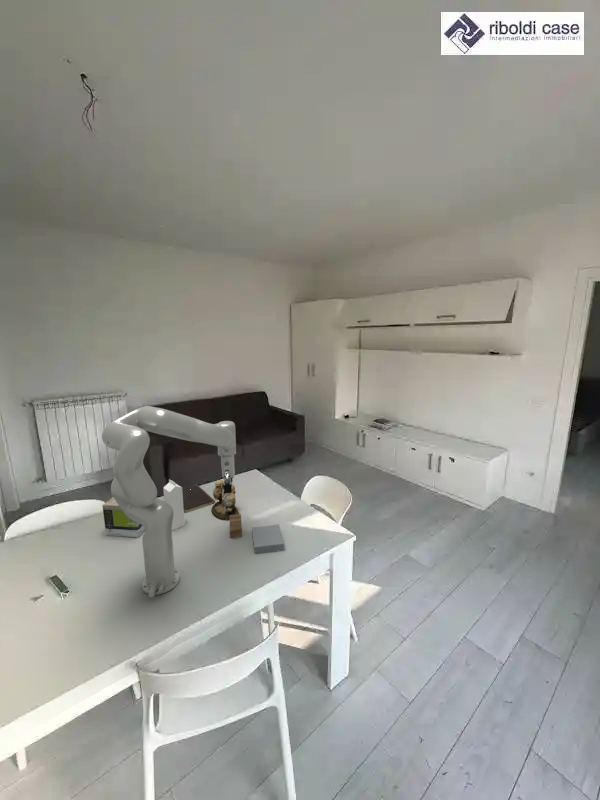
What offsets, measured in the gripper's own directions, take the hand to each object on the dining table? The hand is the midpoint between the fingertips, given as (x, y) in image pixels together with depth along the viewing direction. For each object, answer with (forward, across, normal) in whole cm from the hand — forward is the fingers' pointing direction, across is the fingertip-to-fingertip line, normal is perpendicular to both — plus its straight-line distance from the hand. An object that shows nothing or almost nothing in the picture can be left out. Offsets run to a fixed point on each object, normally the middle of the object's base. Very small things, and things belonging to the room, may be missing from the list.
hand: (228, 487), depth 146 cm
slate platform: (+22, -10, -16) cm, 28 cm away
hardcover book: (+22, +32, +21) cm, 45 cm away
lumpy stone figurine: (+22, +17, +3) cm, 28 cm away
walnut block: (+22, -2, -3) cm, 22 cm away
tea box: (+22, +7, +45) cm, 50 cm away
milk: (+22, +8, +25) cm, 34 cm away
